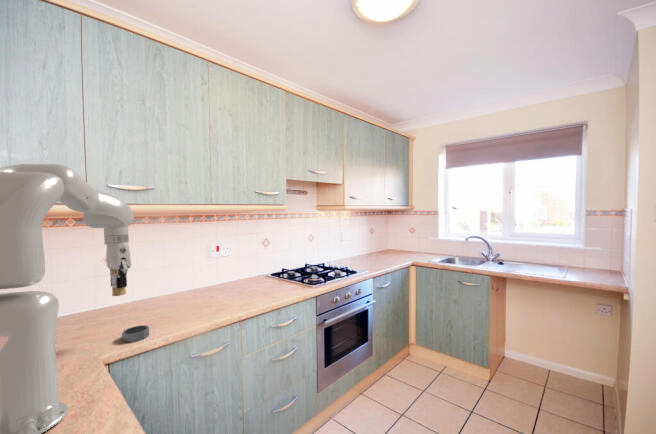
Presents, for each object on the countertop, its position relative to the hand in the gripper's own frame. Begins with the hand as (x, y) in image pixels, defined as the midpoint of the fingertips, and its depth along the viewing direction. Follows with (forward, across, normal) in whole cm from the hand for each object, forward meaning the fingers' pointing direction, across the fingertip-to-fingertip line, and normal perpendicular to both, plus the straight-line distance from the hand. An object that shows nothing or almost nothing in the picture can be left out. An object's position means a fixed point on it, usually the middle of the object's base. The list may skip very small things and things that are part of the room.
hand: (118, 286), depth 110 cm
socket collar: (+21, -3, -4) cm, 22 cm away
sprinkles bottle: (+4, 0, 0) cm, 4 cm away
